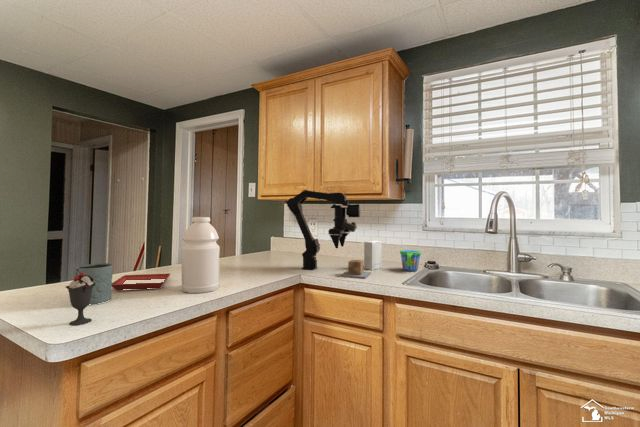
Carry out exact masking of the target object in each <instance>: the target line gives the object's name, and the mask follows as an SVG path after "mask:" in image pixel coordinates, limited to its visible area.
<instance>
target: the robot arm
mask: <svg viewBox="0 0 640 427" xmlns="http://www.w3.org/2000/svg"><path fill="white" fill-rule="evenodd" d="M308 198H309V199H310V198H311V199H318V200H323V201H324V200H325V201H329V202H331V203H332V205H331V206H330V209H334V218H333V219H332V221H333V223H334V226H332V228H329V229H328V235H329V237H330V238H331V240H332V243H333V245H334V247H335V249H339V245H340V246H341V247H344V245H345V241H346V239H347V236H348V235H349V234H350V233H354V232H356V229H357V227H358V226H357V224H356V222H355V221H352V222H348V220H347V218H346V217H347V216H348V218H361V206H360V204H358V203H355V204H350V203H349V201H348V199H347V196H346V194H345V193H343V192H342V193H341V192H330V193H327V192H320V191H315V190H313V191H312V190H308V189H304V190H302V191H301V192H300V193H298V194H297V195H295V196H293V197H291V198H289V199H288V200H287V202H286V204H287V205H286V206H287V207H288V209H289V210H290V212H291V213H292V215H294V216H295V220H296V221H297V224H298V227H299V228H300V231H301V234H302V236H303V238H304V243H305V244H304V246H305V251H304V252H302V254H301V256H302V267H301V269H302V270H309V271H313V270H315V269H318V260H317V254H318V253H319V252H320V250H321V244H320V242H319V239H318V238H315V237H314V236H313V235H312V232H311V230H310V227H309V225H308V222H307V219H306V218H305V214H303V206H302V204H303V203H304V202H306V201H307V199H308ZM336 204H337V205H336Z"/></svg>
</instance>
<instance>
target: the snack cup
mask: <svg viewBox="0 0 640 427" xmlns="http://www.w3.org/2000/svg"><path fill="white" fill-rule="evenodd" d="M399 254H400V258H401V265H402V269H403V271H406V272H417V271H418V270H419V264H420V257H421V255H422V252H421V251H420V250H414V249H403V250H399Z"/></svg>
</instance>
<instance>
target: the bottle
mask: <svg viewBox="0 0 640 427" xmlns="http://www.w3.org/2000/svg"><path fill="white" fill-rule="evenodd" d="M191 222H192V224H190V225H189V226H188V228H187V229H186V230H185V231H184V234H183V236H182V240H183V241H184V242H185V243H184V245H183V246H181V285H180V288H181V291H183V293H187V292H188V294H203V293H208V292H214V291H216V290H218V289H219V288H220V253H221V252H220V251H221V250H220V248H221V247H220V245H219V244H218V242H217V241H218V240H219V239H220V237H219V234H218V232H217V230H216V228H215V227H214V226H213V225H212V224H211V217H209V216H193V217H192V218H191Z"/></svg>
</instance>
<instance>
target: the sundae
mask: <svg viewBox="0 0 640 427" xmlns="http://www.w3.org/2000/svg"><path fill="white" fill-rule="evenodd" d="M76 270H77V271H78V269H76V268H75V273H76V274H75V276H74V277H73V279H72V281H71V282H70V283H69V285H66V286H65V288H66V289H67V290H68V295H69V301H70V305H71V307H72V308H74V309H75V310H77V318H76V319H74V320H72V321H70V322H69V323H68V324H69V325H70V326H80V324H82V325H86V324H89V323H91V322H92V321H93V319H91V317H90V318H88V317H85V314H84V310H85V308H87V307H88V306H90V305H89V303H90V300H91V294H92V288H93V287H94V286H95V284H96V283H93V280H94V279H93V278H92V277H90V276H87V275H85V274H84V273H81V274H80V275H79V276H77V272H76ZM78 272H79V271H78ZM79 273H80V272H79ZM88 322H89V323H88ZM85 323H86V324H85Z"/></svg>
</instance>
